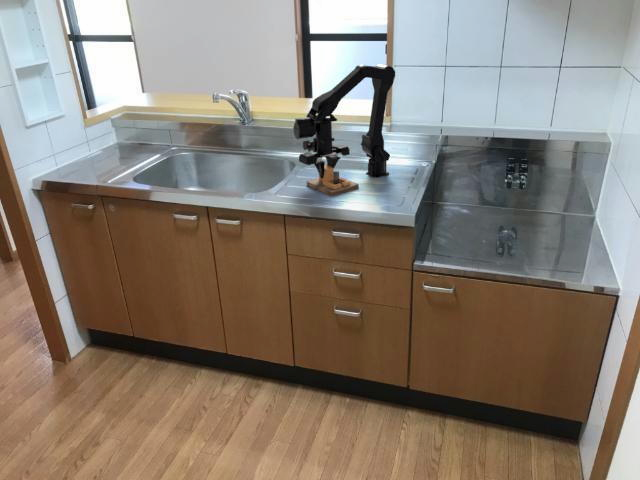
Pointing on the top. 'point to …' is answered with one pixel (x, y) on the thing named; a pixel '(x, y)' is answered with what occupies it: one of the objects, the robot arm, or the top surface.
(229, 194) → the top surface
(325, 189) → the post stand
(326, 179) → the ring link
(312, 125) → the robot arm
